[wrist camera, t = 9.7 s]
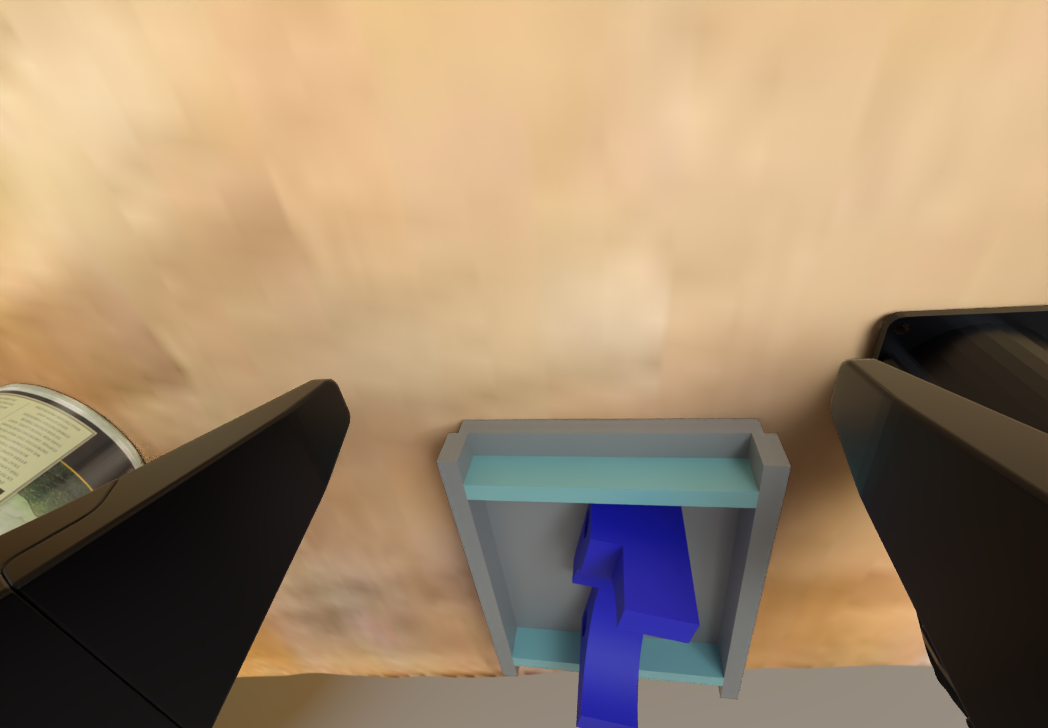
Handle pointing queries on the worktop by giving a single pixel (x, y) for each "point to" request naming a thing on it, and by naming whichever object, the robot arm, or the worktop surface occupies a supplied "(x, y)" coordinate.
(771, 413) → the worktop surface
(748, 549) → the tray
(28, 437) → the coffee can
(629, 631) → the cable clip
